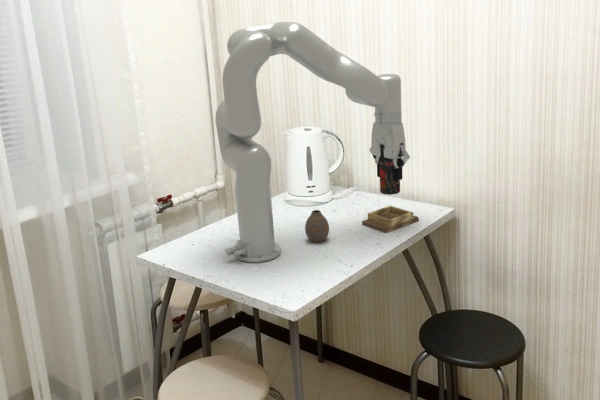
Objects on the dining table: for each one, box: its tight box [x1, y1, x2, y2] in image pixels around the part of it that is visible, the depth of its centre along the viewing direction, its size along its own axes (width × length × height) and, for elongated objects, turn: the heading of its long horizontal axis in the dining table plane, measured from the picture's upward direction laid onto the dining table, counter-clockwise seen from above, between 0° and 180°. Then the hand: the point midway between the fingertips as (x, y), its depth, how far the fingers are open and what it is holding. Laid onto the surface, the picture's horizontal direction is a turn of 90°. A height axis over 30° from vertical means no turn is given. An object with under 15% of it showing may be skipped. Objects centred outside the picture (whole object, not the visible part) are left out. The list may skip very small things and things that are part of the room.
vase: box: [304, 209, 330, 243], centre depth 189 cm, size 7×7×9 cm
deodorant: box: [379, 144, 401, 196], centre depth 194 cm, size 6×6×15 cm
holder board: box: [361, 205, 420, 234], centre depth 199 cm, size 14×10×3 cm
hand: (389, 177), depth 195 cm, fingers closed on deodorant, 5 cm apart
